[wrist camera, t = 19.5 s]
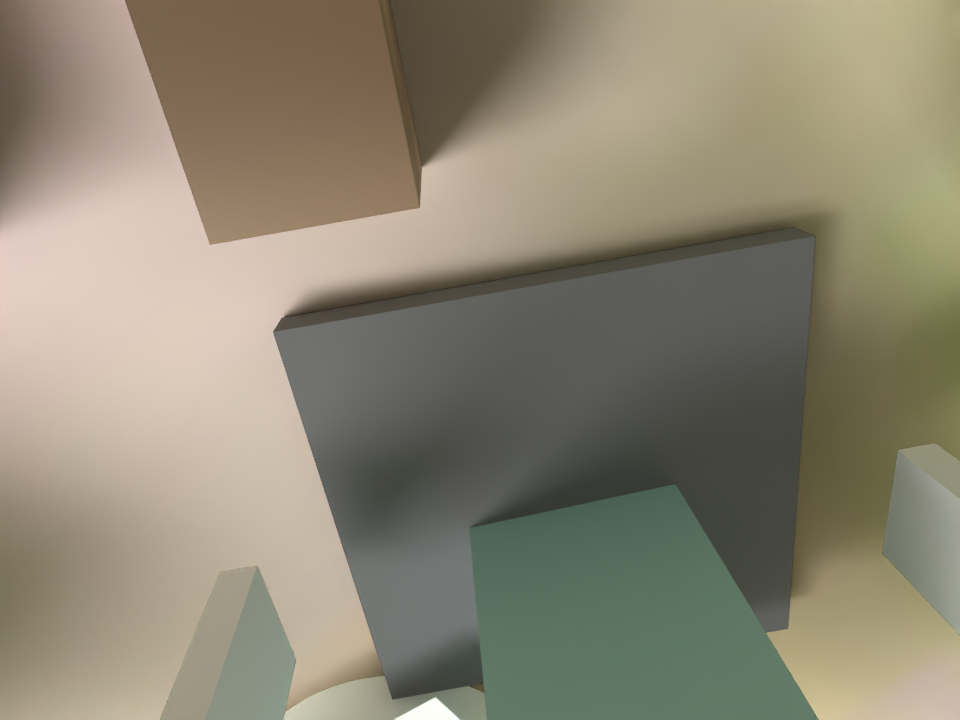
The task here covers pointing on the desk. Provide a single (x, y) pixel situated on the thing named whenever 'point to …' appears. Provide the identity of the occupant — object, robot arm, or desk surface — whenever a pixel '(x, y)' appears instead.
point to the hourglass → (388, 704)
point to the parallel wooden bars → (283, 110)
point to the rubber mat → (555, 423)
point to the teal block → (620, 619)
